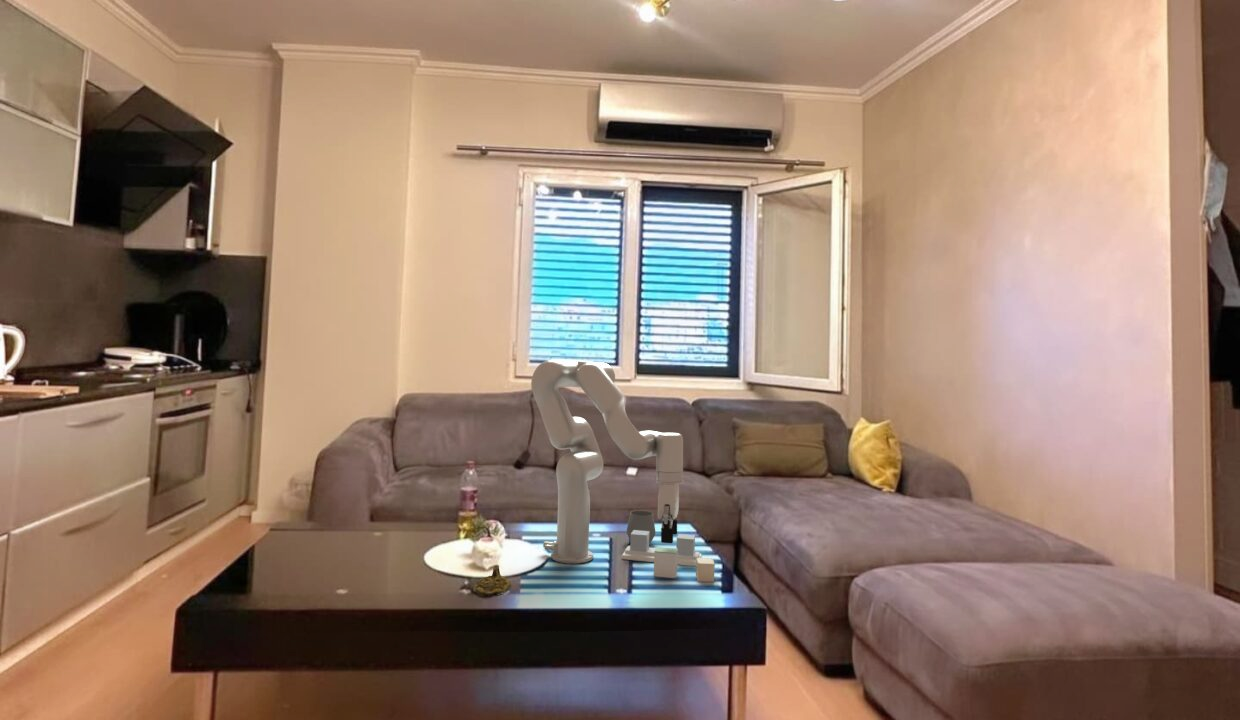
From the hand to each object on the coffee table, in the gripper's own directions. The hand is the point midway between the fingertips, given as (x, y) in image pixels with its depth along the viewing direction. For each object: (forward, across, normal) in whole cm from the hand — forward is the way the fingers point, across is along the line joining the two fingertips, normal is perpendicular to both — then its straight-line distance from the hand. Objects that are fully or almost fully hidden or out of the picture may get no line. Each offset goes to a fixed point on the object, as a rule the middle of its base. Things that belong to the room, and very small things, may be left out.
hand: (669, 538), depth 189 cm
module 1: (+10, 0, -1) cm, 10 cm away
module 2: (+11, 0, +10) cm, 15 cm away
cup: (+10, -29, -13) cm, 34 cm away
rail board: (+10, -15, -4) cm, 19 cm away
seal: (+10, +24, -43) cm, 50 cm away
